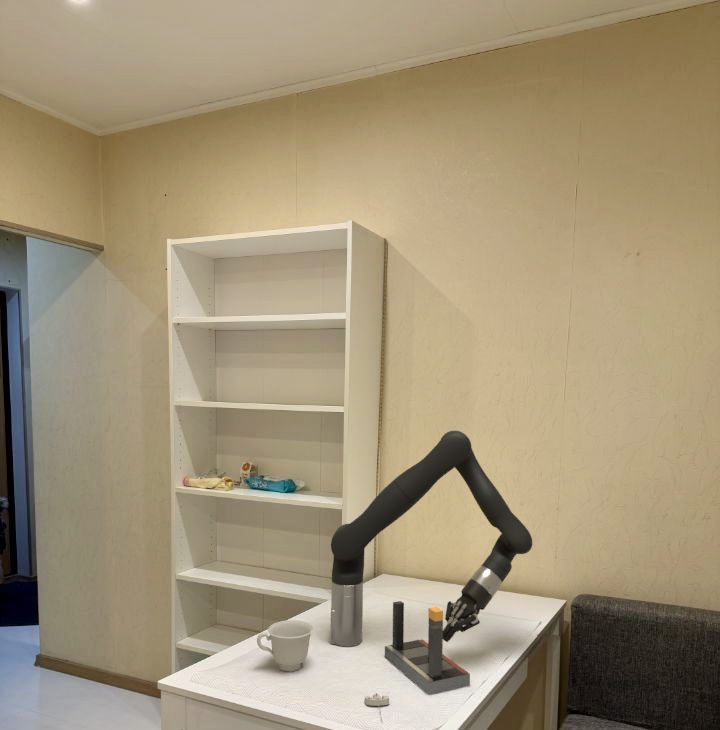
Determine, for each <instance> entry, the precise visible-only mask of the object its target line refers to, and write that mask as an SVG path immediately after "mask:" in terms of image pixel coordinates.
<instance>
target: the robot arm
mask: <svg viewBox="0 0 720 730" xmlns="http://www.w3.org/2000/svg"><path fill="white" fill-rule="evenodd" d="M453 469H456V471H457V472H458V473H459V474H460V476H461V477H462V479H463V480H464V482H465V484H466V485H467V487H468V489H469V491H470V492H471V495H472V496H473V498H474V500H475V502H476V503H477V506H478V507H479V509H480V510H481V512H482V513H483V515H484V516H485V518H486V519H487V521H488V522H489V524H490V525H491V526H492V527H494V528H496V530H498V531H499V532H500V533H501V534H500V535H499V536H498V538H497V539H496V541H495V543H494V545H493V547H492V549H491V551H490V554H488V556H487V557H486V559H485V560H484V561H483V563H482V564H481V565H480V567H479V568H477V570H476V571H475V572H474V573H473V575H471V577H470V578H469V579H468V581H467V582H466V584H465V585H464V586H463V588H462V589H461V591H460V592H461V595H460V597H459V598H457V599H456V601H455V602H452V601H447V606H446V612H445V618H444V619H445V621H446V623H447V624H446V626H445V627H443V628H444V629H443V642H446V643H449V641H450V640H451V639H452V638H453V637H454V635H455V634H456V633H457V632H459V631H460V632H461V633H464V632H466V631H468V630H470V629H472V628H474V627H475V626H478V625H479V624H480V623H481V620H479V618H478V615H479V614H480V611H483V610H485V608H486V607H487V606H488V605H489V603H490V601H491V600H492V598H493V597H494V596H495V594H497V592H498V591H499V590H500V587H501V585H502V583H503V582H504V581H505V579H506V578H507V576H508V575H509V574H510V572H511V571H512V567H513V566H512V562H513V560H514V559H515V557H516V556H517V555H524V554H528V553H529V552H530V551H531V549H532V547H533V538H532V535H531V533H530V531H529V530H528V529H527V527H526V525H524V524H523V523H522V521H520V519H519V518H518V517H517V516H516V515H515V514H514V513H513V511H511V509H510V507H509V505H508V504H507V503H506V501H505V500H504V498H503V496H502V495H501V493H500V492H499V490H498V489H497V487H496V486H495V485H494V484H493V482H492V481H491V479H490V478H489V477H488V476H487V474H486V472H485V471H484V469H483V467H482V466H481V464H480V463H479V461H478V459H477V457H476V456H475V453H474V450H473V449H472V442H471V440H470V438H469V437H468V436H467V435H466V434H465V433H463V432H462V431H459V430H449V431H447V432H446V433H444V434H443V435H442V437H441V438H440V440H439V441H438V443H436V445H435V446H434V447H433V448H432V450H430V451H429V452H428V453H427V455H425V457H423V458H422V459H421V460H420V461H419V462H416V463H415V464H414V465H412V466H411V467H409V468H408V469H406V470H405V471H403V472H402V473H400V474H399V475H398V476H397V477H395V478H394V479H393V480H392V481H391V482H390V483H388V484H387V485H386V486H385V487H384V488H383V489H382V490H381V491H380V492H379V493H378V495H377V496H376V497H375V498H374V499H373V500H372V502H371V503H369V505H368V506H367V508H366V509H365V510H364V511H363V512H362V513H361V514H360V515H358V517H356V518H355V519H354V520H353V521H352V522H350V523H344V524H342V525H340V526H339V527H338V528H337V529H336V531H335V532H334V534H333V535H332V537H331V540H330V541H331V542H330V549H331V550H330V551H331V552H332V553H331V554H333V562H332V570H331V599H330V600H331V601H330V602H331V605H330V631H329V633H330V637H329V638H330V639H329V643H330V644H331V645H336V646H340V647H353V646H357V645H360V644H361V643H362V642H363V617H364V616H363V608H364V607H363V605H364V600H363V599H364V572H365V549H366V547H367V546H368V545H369V544H370V543H371V542H372V540H373V539H375V538H376V537H377V536H378V535H379V533H381V532H382V531H384V530H385V529H386V528H388V527H390V525H392V524H393V523H394V522H396V521H398V519H400V518H401V517H402V516H403V515H405V514H406V513H407V512H408V511H409V510H411V508H413V507H414V506H415V505H416V504H417V503H418V502H420V501H421V499H422V498H423V497H425V495H426V494H427V493H428V492H429V491H430V490H431V489H432V488H433V486H434V485H435V484H436V483H437V482H438V481H439V480H440V479H441V478H443V477H444V476H445V475H446V474H447V473H449V472H450V471H452V470H453Z"/></svg>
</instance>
